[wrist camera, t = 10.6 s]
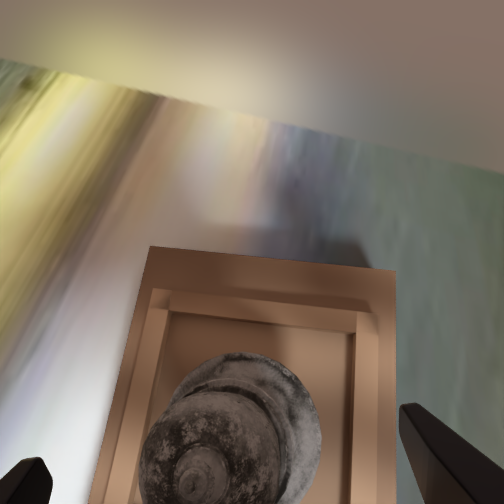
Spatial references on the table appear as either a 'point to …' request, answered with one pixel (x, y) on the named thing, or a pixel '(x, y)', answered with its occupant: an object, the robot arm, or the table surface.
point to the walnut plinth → (268, 344)
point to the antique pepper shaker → (233, 437)
